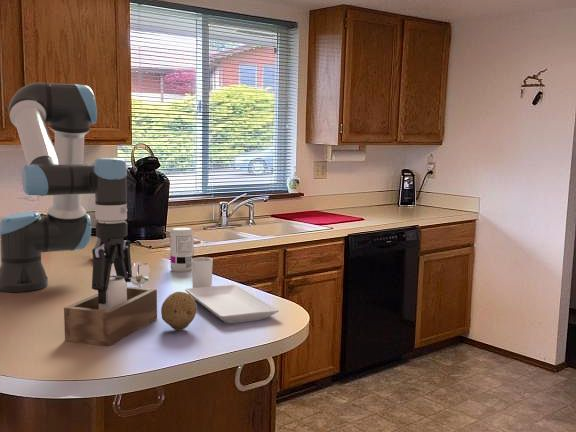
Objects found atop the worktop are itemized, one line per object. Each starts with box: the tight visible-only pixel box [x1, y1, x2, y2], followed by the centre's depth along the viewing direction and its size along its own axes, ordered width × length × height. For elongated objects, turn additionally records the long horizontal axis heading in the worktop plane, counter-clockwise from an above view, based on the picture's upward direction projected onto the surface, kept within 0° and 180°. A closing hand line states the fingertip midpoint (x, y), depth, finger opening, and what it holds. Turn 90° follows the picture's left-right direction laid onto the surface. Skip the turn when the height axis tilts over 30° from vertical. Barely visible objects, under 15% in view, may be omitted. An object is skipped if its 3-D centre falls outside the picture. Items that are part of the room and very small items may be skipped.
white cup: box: [191, 256, 214, 288], centre depth 197 cm, size 7×7×10 cm
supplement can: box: [169, 226, 195, 273], centre depth 226 cm, size 8×8×15 cm
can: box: [107, 275, 127, 308], centre depth 157 cm, size 6×6×12 cm
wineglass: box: [129, 261, 151, 288], centre depth 180 cm, size 6×6×12 cm
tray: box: [185, 284, 279, 324], centre depth 178 cm, size 17×32×4 cm, turn 27°
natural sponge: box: [160, 291, 198, 332], centre depth 157 cm, size 9×9×10 cm
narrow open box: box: [63, 286, 158, 347], centre depth 158 cm, size 12×23×8 cm, turn 164°
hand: (113, 311), depth 157 cm, fingers open, 7 cm apart
